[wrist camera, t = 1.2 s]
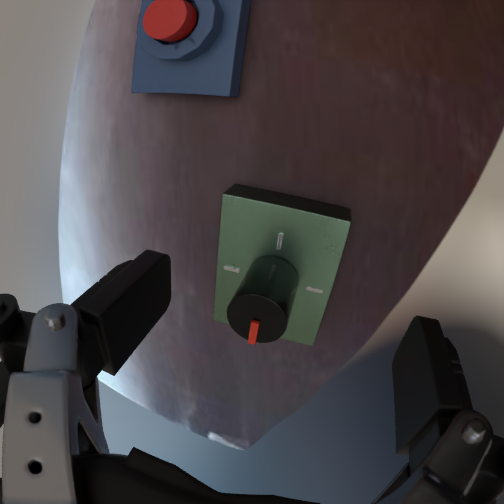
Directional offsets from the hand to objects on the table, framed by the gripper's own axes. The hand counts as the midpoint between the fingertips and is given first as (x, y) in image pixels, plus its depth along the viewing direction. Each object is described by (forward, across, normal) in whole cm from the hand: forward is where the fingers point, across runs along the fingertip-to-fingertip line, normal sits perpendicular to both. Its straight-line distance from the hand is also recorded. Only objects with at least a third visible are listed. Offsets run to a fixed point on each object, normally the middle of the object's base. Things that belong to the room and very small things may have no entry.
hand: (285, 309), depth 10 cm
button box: (+17, +12, -12) cm, 24 cm away
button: (+13, +12, -12) cm, 22 cm away
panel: (+18, +2, +8) cm, 19 cm away
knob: (+14, +2, +8) cm, 17 cm away
